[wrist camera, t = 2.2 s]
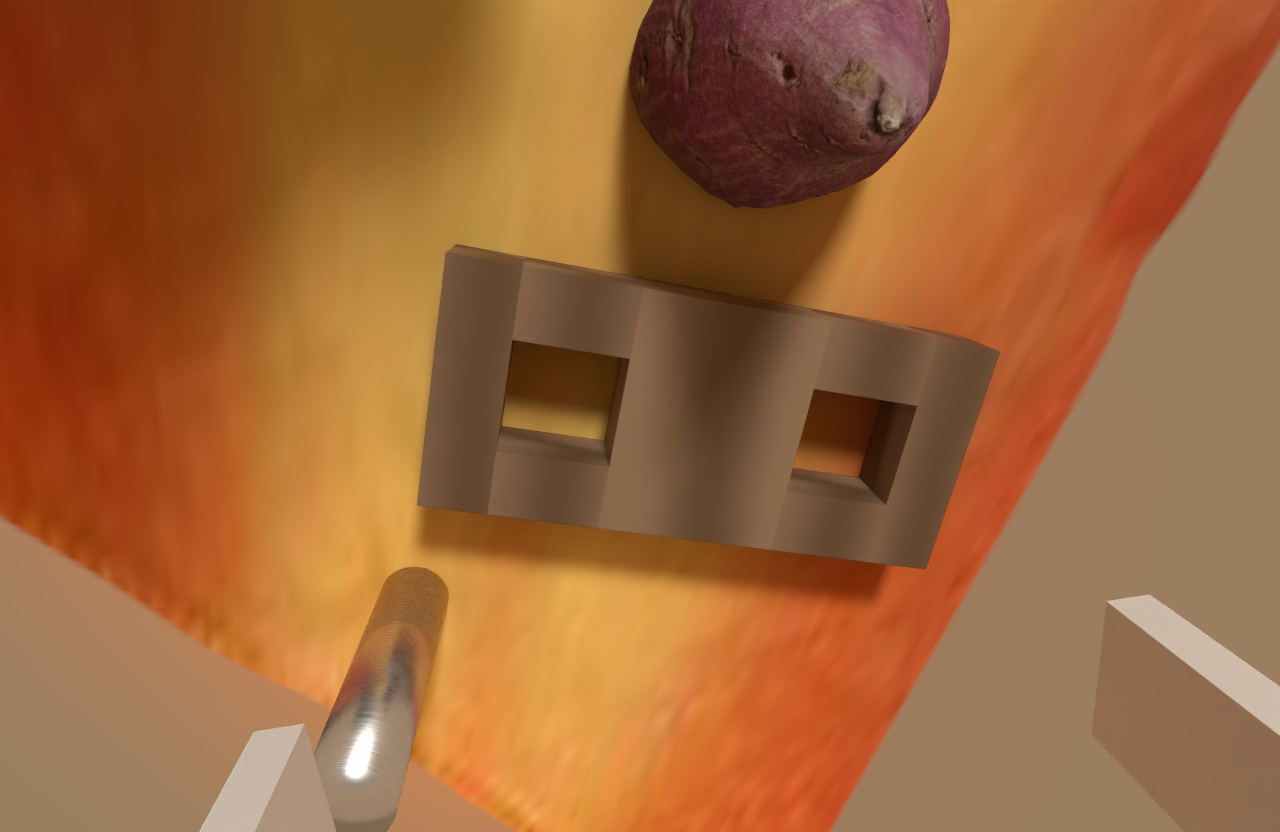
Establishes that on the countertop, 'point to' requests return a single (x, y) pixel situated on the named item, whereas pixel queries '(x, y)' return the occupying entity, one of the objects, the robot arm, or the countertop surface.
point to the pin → (381, 703)
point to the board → (696, 413)
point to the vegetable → (786, 89)
